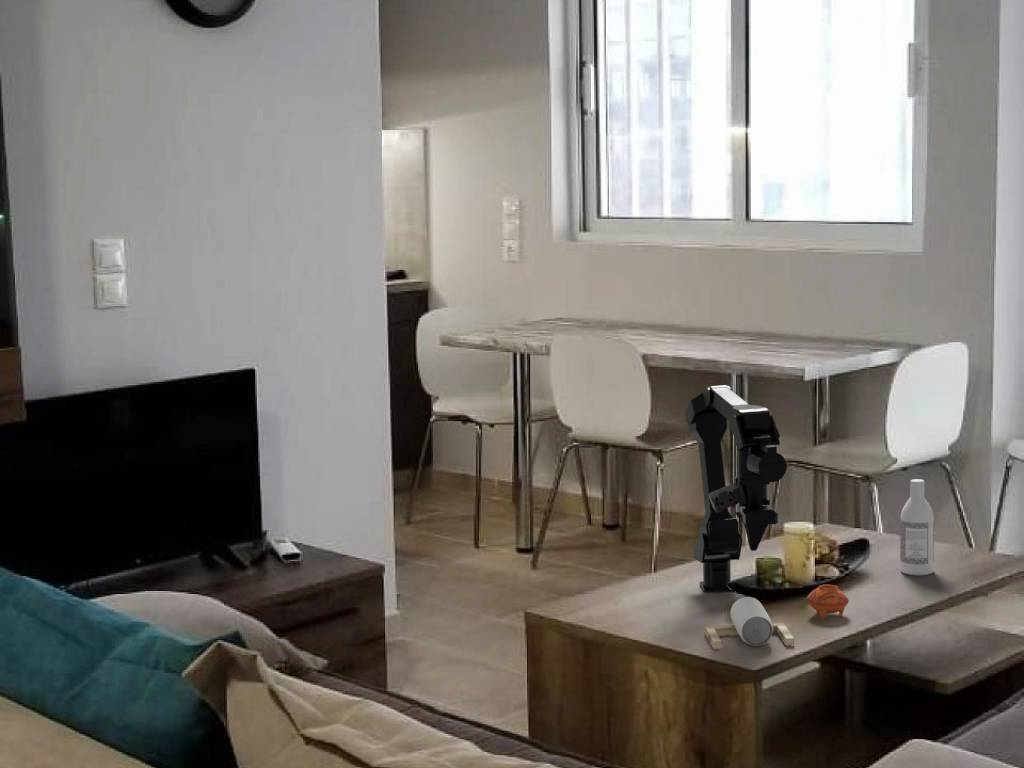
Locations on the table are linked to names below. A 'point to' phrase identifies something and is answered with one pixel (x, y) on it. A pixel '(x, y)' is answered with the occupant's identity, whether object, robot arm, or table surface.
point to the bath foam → (917, 533)
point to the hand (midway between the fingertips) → (753, 550)
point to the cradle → (717, 631)
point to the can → (751, 621)
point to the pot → (827, 600)
